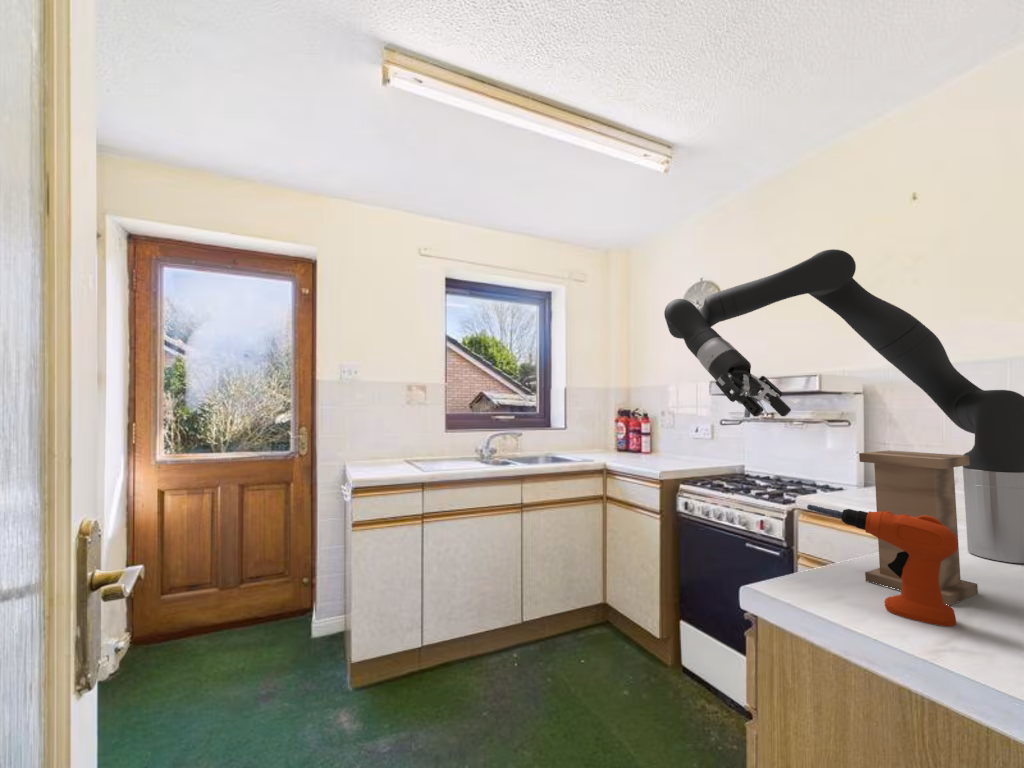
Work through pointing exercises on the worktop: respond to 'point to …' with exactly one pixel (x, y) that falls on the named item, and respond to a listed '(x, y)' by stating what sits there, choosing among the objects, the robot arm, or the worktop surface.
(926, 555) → the toy drill
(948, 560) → the walnut stand
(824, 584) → the worktop surface
